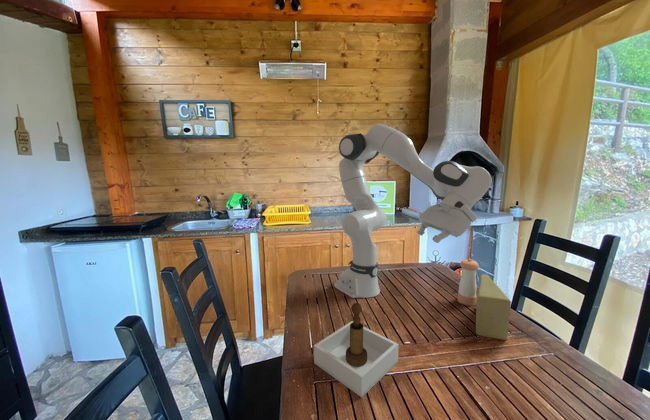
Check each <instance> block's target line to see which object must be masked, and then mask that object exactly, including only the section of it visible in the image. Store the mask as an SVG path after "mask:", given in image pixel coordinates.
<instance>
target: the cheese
mask: <svg viewBox="0 0 650 420" xmlns="http://www.w3.org/2000/svg"><path fill="white" fill-rule="evenodd" d="M477 292H478V293H477V299H476V311H475V334H476V335H478V336H481V337H486V338H491V339H497V340H503V341H504V340H505V341H506V340H507V339H508V334H509V323H510V322H509V321H510V315H511V306H512V304H511V303H512V300H510V298H509V297H508V296H507V295H506V294H505V293H504V291H503V290H502V289H501V288H500V287H499V286H498V285H497V284H496V283H495V282H494V280H492V278H491V277H490V276H489V275H487V274H484V273H483V274H480V278H479V286H478V291H477Z"/></svg>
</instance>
